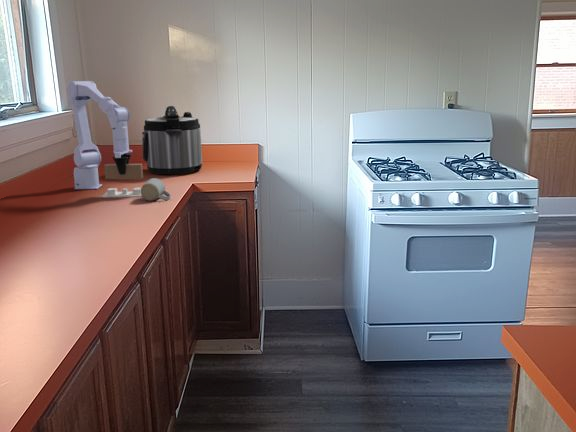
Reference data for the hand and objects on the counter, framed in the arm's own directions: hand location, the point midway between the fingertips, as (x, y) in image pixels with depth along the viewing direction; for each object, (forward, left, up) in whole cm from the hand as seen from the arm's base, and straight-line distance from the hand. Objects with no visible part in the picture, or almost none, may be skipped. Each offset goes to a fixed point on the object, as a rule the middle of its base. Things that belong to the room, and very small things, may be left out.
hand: (123, 173), depth 215 cm
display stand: (0, 0, -9) cm, 9 cm away
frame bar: (0, 0, -2) cm, 2 cm away
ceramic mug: (+14, -8, -9) cm, 18 cm away
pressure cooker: (+12, +53, -9) cm, 55 cm away
